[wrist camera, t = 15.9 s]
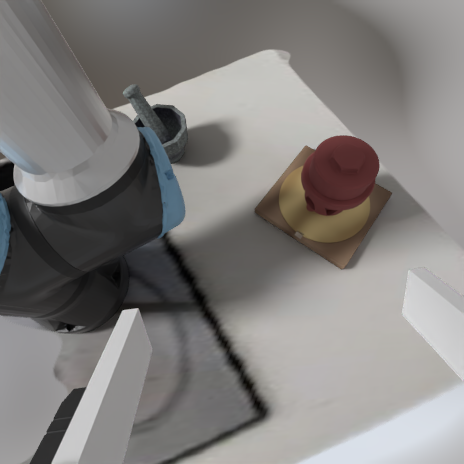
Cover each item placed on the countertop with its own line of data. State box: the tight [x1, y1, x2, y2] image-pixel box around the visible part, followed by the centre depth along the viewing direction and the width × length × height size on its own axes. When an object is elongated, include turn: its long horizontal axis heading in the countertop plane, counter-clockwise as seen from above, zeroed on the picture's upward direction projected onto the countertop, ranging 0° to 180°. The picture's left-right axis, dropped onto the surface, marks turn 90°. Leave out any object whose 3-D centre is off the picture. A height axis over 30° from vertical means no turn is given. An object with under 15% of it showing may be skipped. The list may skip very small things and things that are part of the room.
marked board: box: [255, 146, 392, 269], centre depth 47 cm, size 17×16×2 cm
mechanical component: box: [301, 136, 379, 216], centre depth 40 cm, size 12×10×10 cm
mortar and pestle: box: [123, 85, 188, 164], centre depth 48 cm, size 11×9×12 cm
